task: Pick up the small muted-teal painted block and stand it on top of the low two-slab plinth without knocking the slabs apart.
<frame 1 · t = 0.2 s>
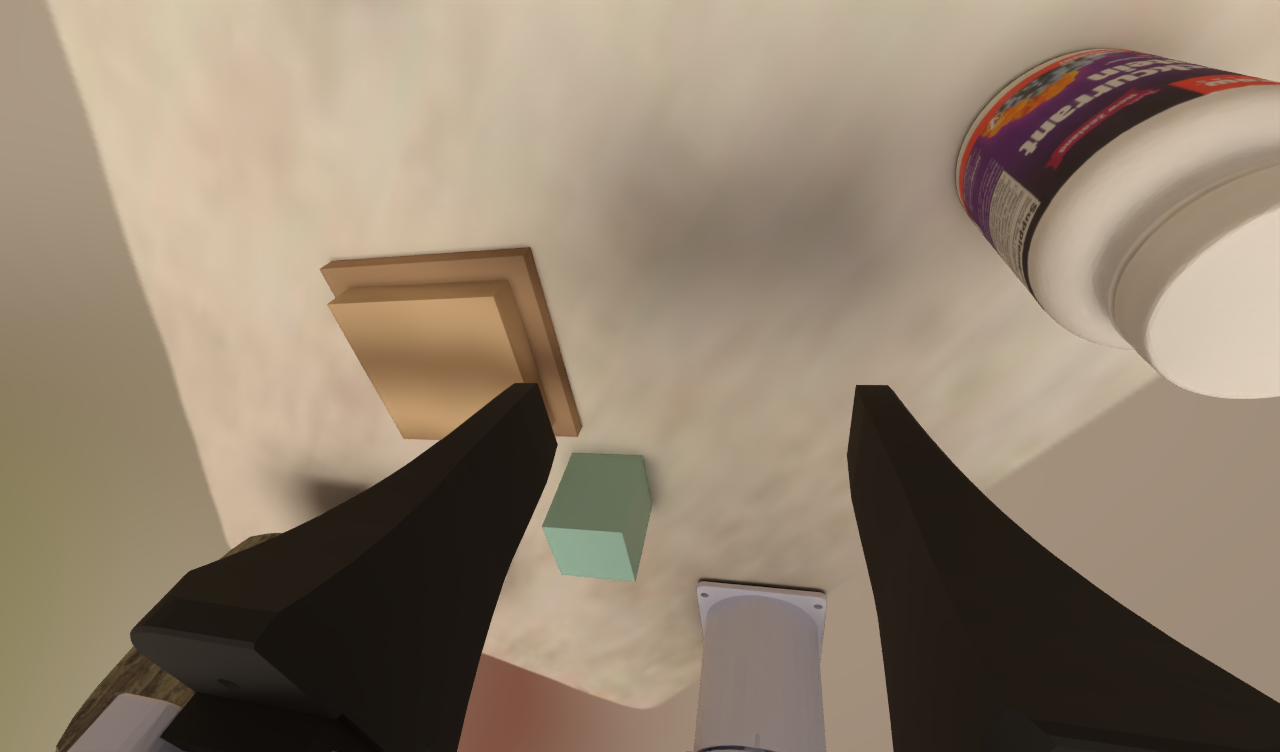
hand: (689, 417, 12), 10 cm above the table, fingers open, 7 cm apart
top slab: (457, 358, 25), point 1 cm above the table, touching bottom slab
bottom slab: (471, 341, 26), on the table, touching top slab
pill bottle: (1047, 147, 16), on the table
block: (613, 478, 29), on the table
tabletop clock: (402, 523, 37), on the table
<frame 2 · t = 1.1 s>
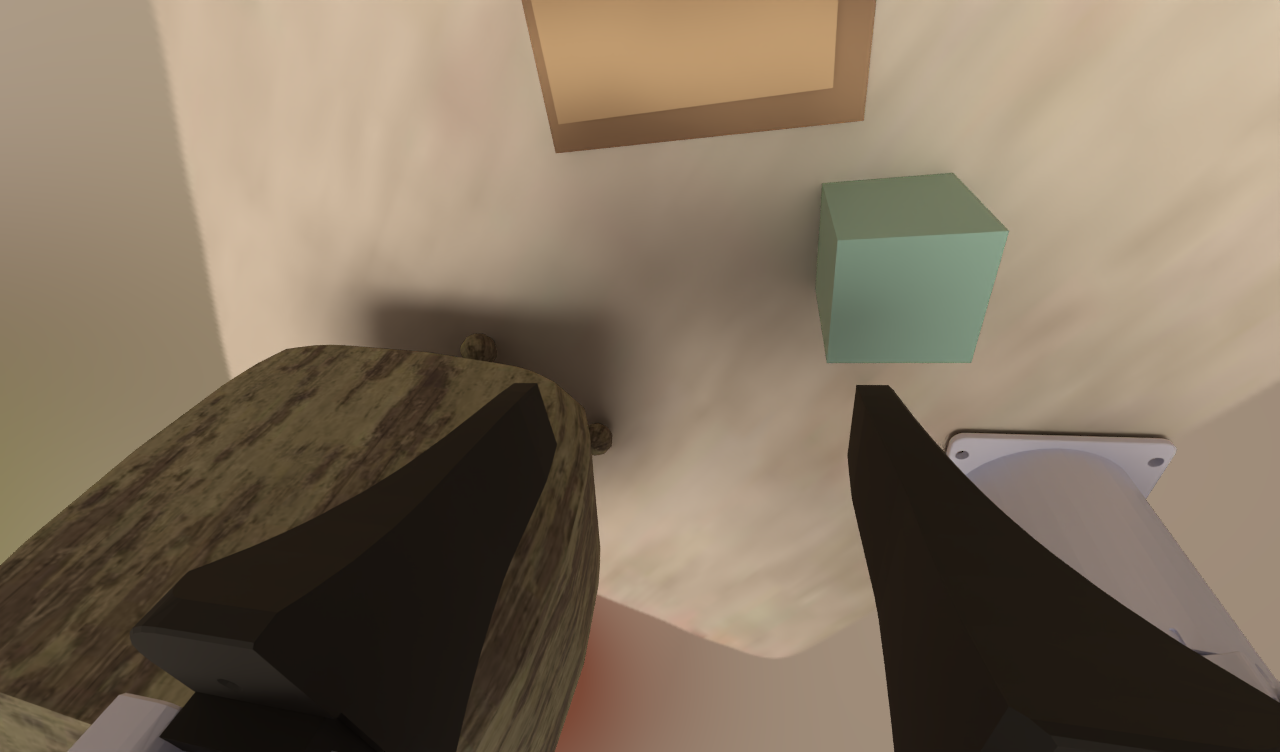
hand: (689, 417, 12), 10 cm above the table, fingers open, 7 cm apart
block: (877, 235, 18), on the table
tabletop clock: (495, 370, 26), on the table
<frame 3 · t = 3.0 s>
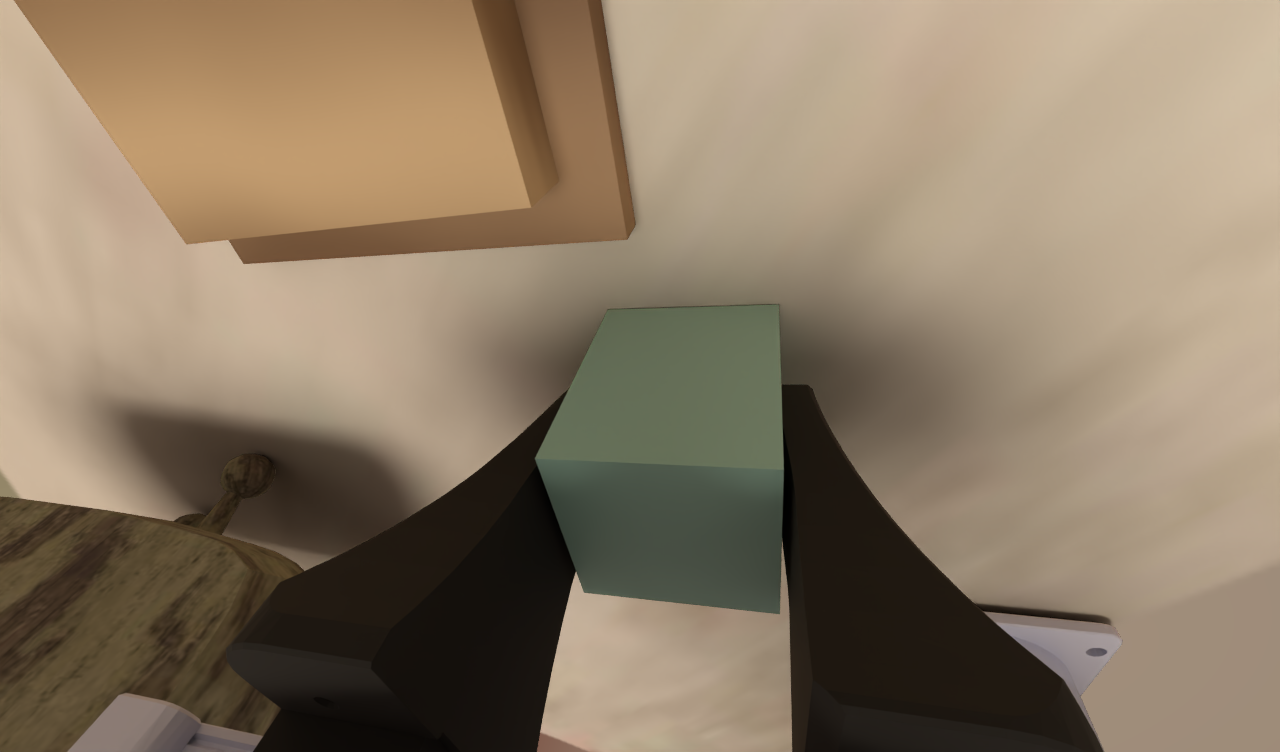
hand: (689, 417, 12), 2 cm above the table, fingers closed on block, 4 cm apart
block: (696, 375, 13), on the table, touching gripper
tabletop clock: (291, 490, 21), on the table
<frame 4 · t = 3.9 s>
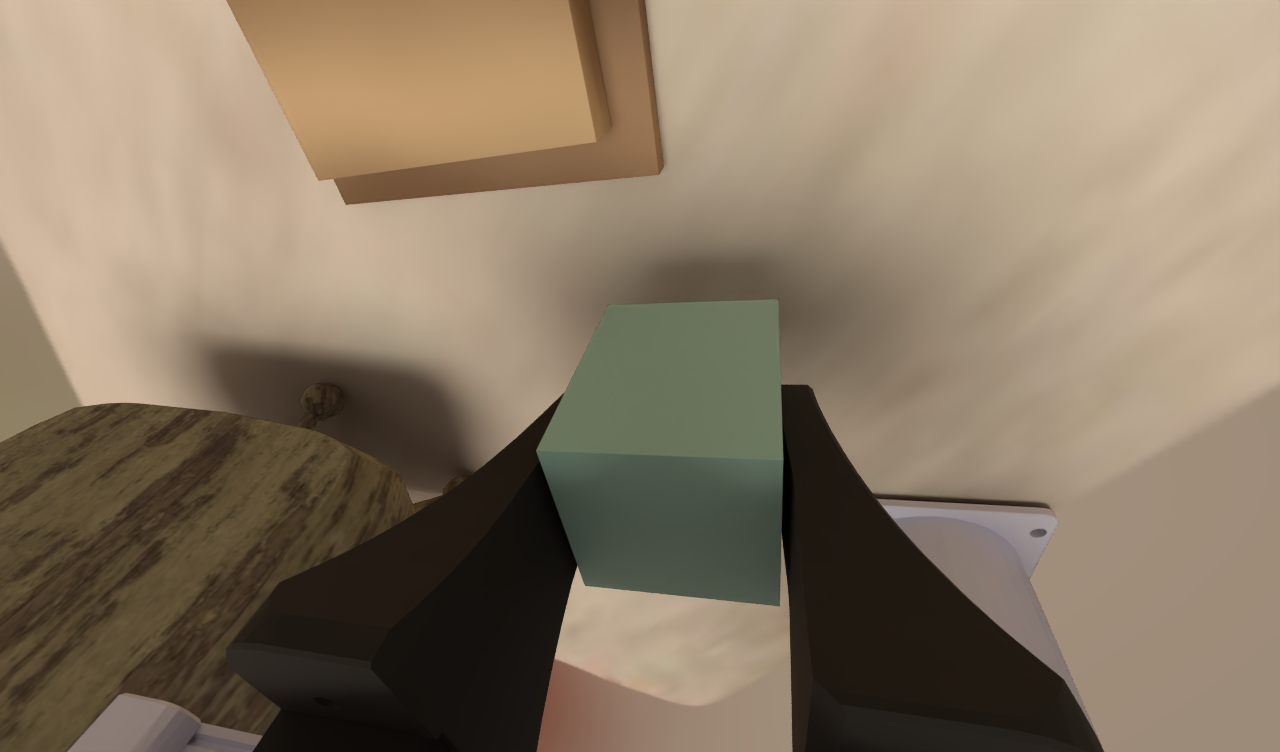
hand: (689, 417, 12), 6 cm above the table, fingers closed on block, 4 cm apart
block: (696, 371, 13), point 4 cm above the table, touching gripper
tabletop clock: (353, 419, 24), on the table
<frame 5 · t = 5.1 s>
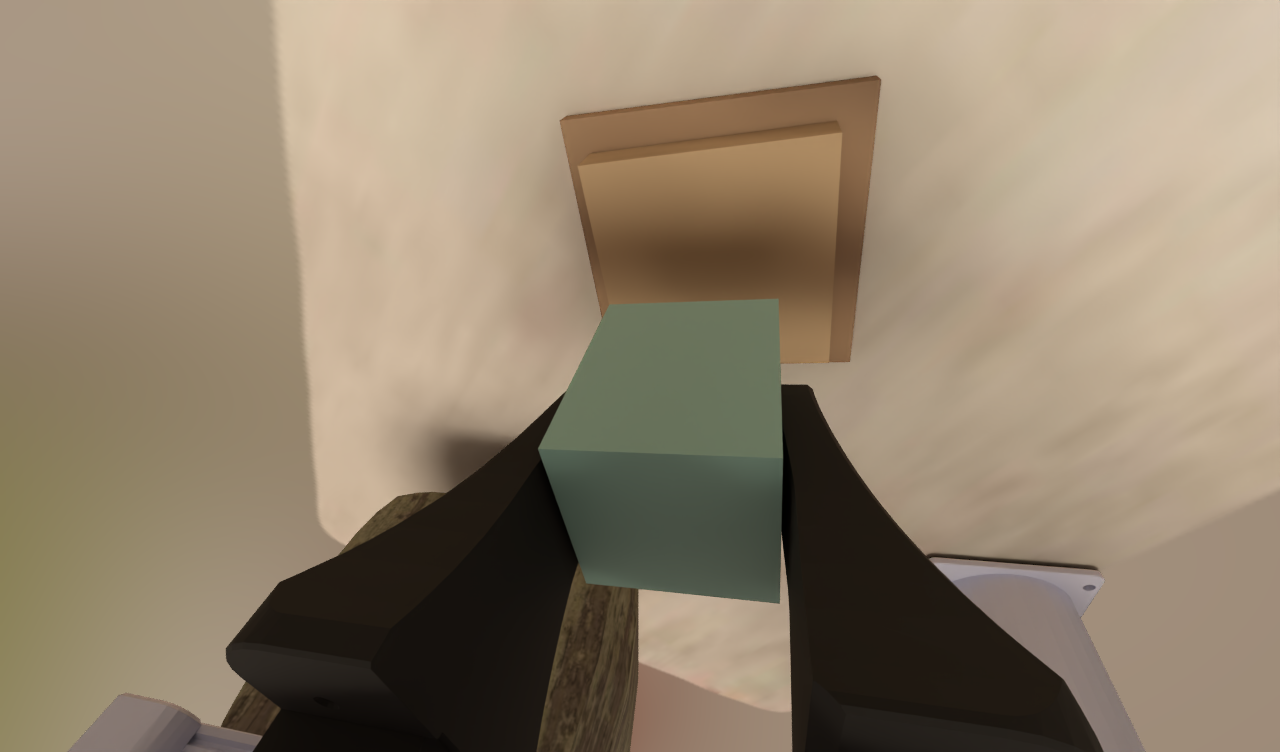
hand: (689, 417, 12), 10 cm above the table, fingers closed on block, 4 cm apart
top slab: (715, 253, 19), point 1 cm above the table, touching bottom slab
bottom slab: (720, 236, 20), on the table, touching top slab
block: (697, 370, 13), point 8 cm above the table, touching gripper
tabletop clock: (549, 489, 31), on the table
when the fingers open (5 cm above the table, at t = 6.4 s): block drops 2 cm, point 2 cm above the table.
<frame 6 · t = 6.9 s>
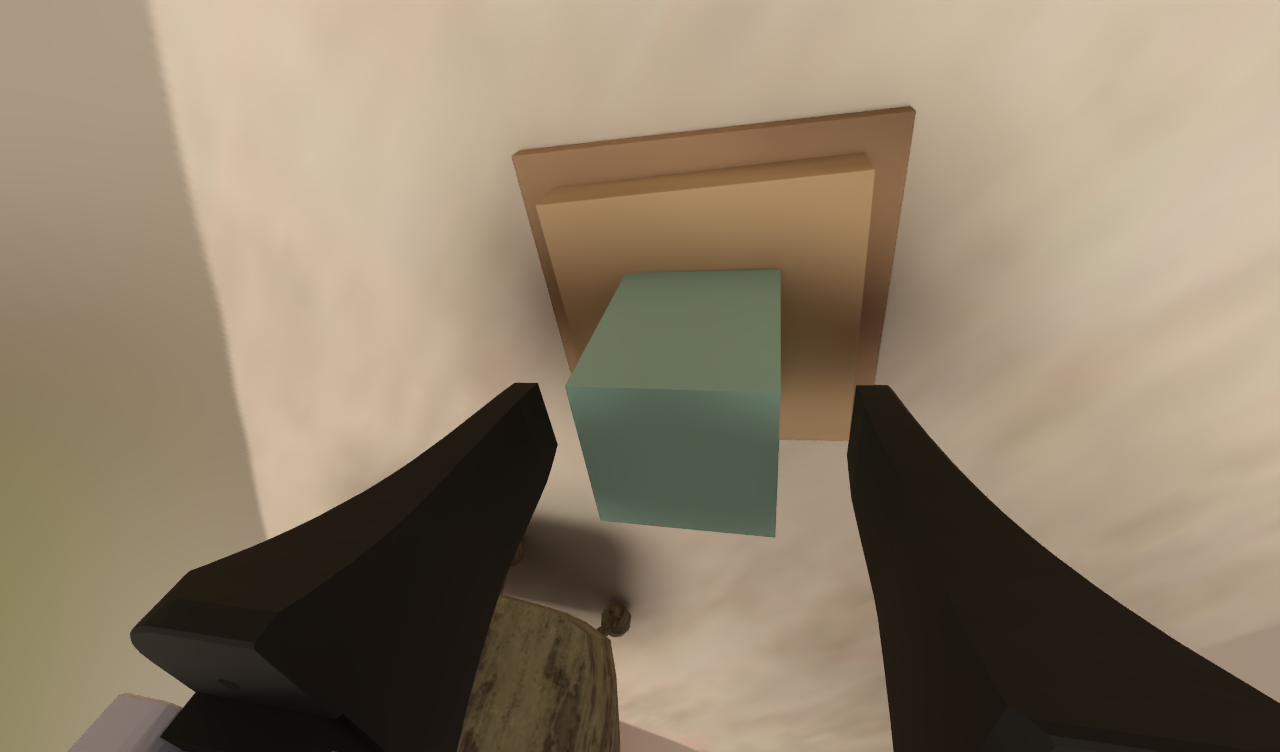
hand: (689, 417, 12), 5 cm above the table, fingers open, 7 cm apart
top slab: (710, 307, 16), point 1 cm above the table, touching bottom slab
bottom slab: (712, 288, 17), on the table, touching top slab
block: (704, 337, 14), point 2 cm above the table
tabletop clock: (522, 554, 28), on the table
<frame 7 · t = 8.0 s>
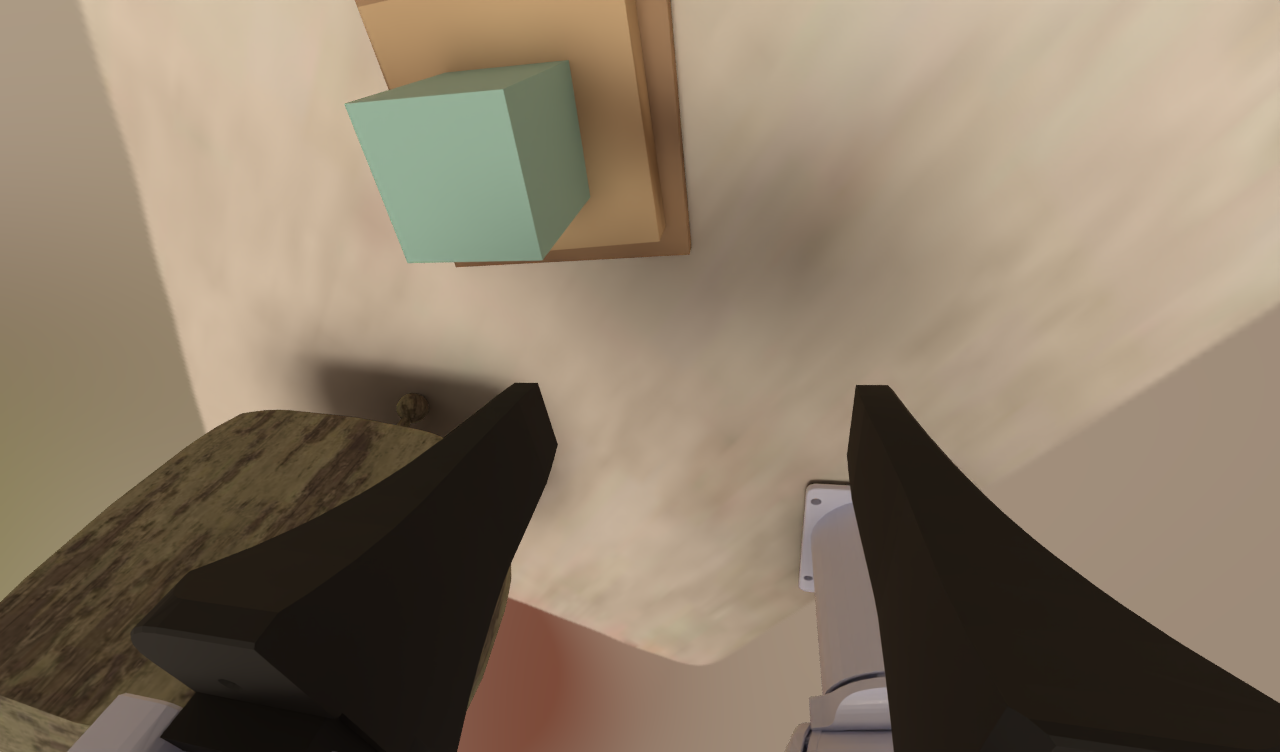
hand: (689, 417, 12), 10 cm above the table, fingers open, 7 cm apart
top slab: (536, 123, 18), point 1 cm above the table
bottom slab: (548, 118, 19), on the table
block: (521, 137, 17), point 2 cm above the table
tabletop clock: (431, 421, 30), on the table
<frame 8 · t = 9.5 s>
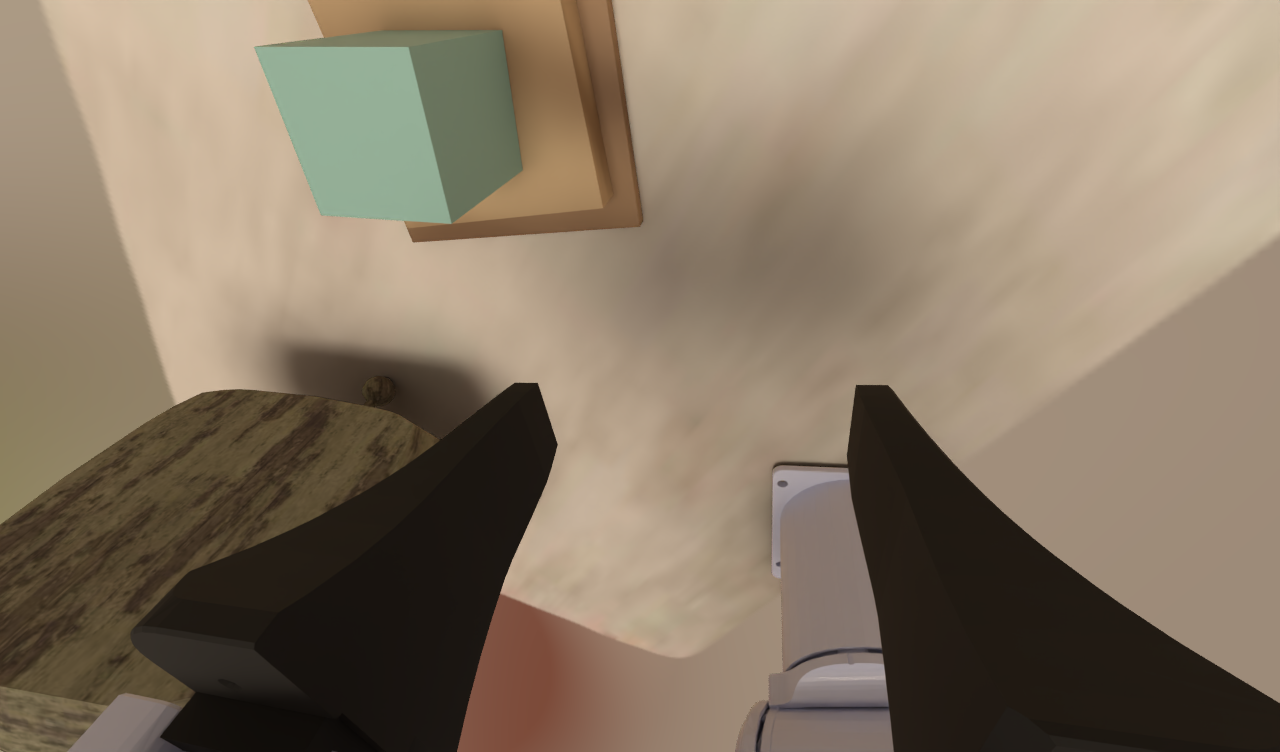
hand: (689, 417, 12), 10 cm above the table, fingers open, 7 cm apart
top slab: (480, 90, 18), point 1 cm above the table, touching block, bottom slab
bottom slab: (497, 89, 19), on the table, touching top slab
block: (455, 104, 17), point 2 cm above the table, touching top slab
tabletop clock: (400, 406, 30), on the table
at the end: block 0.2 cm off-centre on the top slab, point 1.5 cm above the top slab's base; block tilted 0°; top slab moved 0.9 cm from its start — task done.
